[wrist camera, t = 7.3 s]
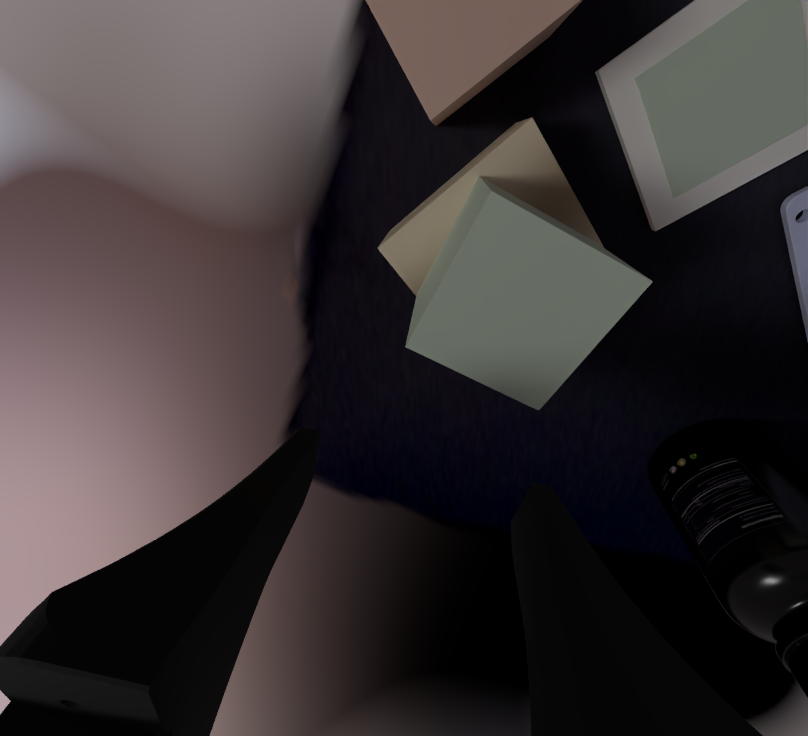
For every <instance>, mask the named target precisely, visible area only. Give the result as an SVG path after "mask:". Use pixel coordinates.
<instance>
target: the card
mask: <svg viewBox="0 0 808 736" xmlns="http://www.w3.org/2000/svg"><path fill="white" fill-rule="evenodd" d="M595 74H596V76H597V79H598V82H599V85H600V88H601V90H602V93H603V96H604V99H605V102H606V104H607V107H608V110H609V113H610V115H611V118H612V121H613V124H614V127H615V129H616V132H617V135H618V138H619V141H620V143H621V146H622V149H623V152H624V154H625V157H626V160H627V163H628V166H629V168H630V171H631V174H632V177H633V180H634V182H635V185H636V188H637V191H638V193H639V196H640V199H641V202H642V205H643V207H644V210H645V213H646V216H647V219H648V221H649V224H650V227H651V230H653V231H657V230H659V229H661V228H663V227H665V226H667V225H668V224H670V223H672V222H674V221H676V220H678V219H680V218H681V217H683V216H685V215H687V214H689V213H691V212H693V211H695V210H696V209H698V208H700V207H702V206H704V205H706V204H708V203H709V202H711V201H713V200H715V199H717V198H719V197H721V196H723V195H724V194H726V193H728V192H730V191H732V190H734V189H736V188H737V187H739V186H741V185H743V184H745V183H747V182H749V181H750V180H752V179H754V178H756V177H758V176H760V175H762V174H764V173H765V172H767V171H769V170H771V169H773V168H775V167H777V166H778V165H780V164H782V163H784V162H786V161H788V160H790V159H792V158H793V157H795V156H797V155H799V154H801V153H803V152H805V151H806V150H808V0H694V1H692V2H691V3H690V4H688V5H687V6H686V7H684V8H683V9H681V10H680V11H679V12H677V13H676V14H674V15H673V16H672V17H670V18H669V19H668V20H666V21H665V22H663V23H662V24H661V25H659V26H658V27H657V28H655V29H654V30H652V31H651V32H650V33H648V34H647V35H646V36H644V37H643V38H641V39H640V40H639V41H637V42H636V43H634V44H633V45H632V46H630V47H629V48H628V49H626V50H625V51H623V52H622V53H621V54H619V55H618V56H617V57H615V58H614V59H612V60H611V61H610V62H608V63H607V64H606V65H604V66H603V67H601V68H600V69H599V70H597V71H596V72H595Z"/></svg>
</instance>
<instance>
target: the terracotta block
mask: <svg viewBox="0 0 808 736" xmlns="http://www.w3.org/2000/svg"><path fill="white" fill-rule="evenodd" d="M366 2H367V3H368V5H369V7H370V9H371V11H372V13H373V15H374V17H375V18H376V20H377V22H378V24H379V26H380V28H381V30H382V31H383V33H384V35H385V37H386V39H387V41H388V43H389V44H390V46H391V48H392V50H393V52H394V54H395V56H396V57H397V59H398V61H399V63H400V65H401V67H402V69H403V70H404V72H405V74H406V76H407V78H408V80H409V82H410V83H411V85H412V87H413V89H414V91H415V93H416V95H417V96H418V98H419V100H420V102H421V104H422V106H423V108H424V109H425V111H426V113H427V115H428V117H429V119H430V121H431V122H432V123H433V124H434V125H436V126H437V125H438V124H440V123H441V122H442V121H443V120H445V119H446V118H447V117H449V116H450V115H451V114H452V113H454V112H455V111H456V110H457V109H459V108H460V107H461V106H463V105H464V104H465V103H466V102H468V101H469V100H470V99H471V98H473V97H474V96H475V95H476V94H478V93H479V92H480V91H482V90H483V89H484V88H485V87H487V86H488V85H489V84H490V83H492V82H493V81H494V80H495V79H497V78H498V77H499V76H501V75H502V74H503V73H504V72H506V71H507V70H508V69H509V68H511V67H512V66H513V65H515V64H516V63H517V62H518V61H520V60H521V59H522V58H523V57H525V56H526V55H527V54H528V53H530V52H531V51H532V50H534V49H535V48H536V47H537V46H539V45H540V44H541V43H542V42H544V41H545V40H546V39H547V38H549V37H550V35H551V34H552V33H553V32H554V31H555V30H556V29H557V28H558V27H559V26H560V25H561V23H562V22H563V21H564V20H565V19H566V18H567V17H568V16H569V15H570V14H571V12H572V11H573V10H574V9H575V8H576V7H577V6H578V5H579V4H580V3H581V2H582V0H366Z"/></svg>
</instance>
